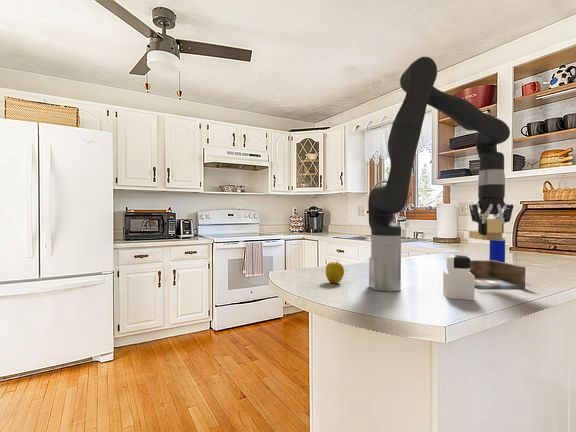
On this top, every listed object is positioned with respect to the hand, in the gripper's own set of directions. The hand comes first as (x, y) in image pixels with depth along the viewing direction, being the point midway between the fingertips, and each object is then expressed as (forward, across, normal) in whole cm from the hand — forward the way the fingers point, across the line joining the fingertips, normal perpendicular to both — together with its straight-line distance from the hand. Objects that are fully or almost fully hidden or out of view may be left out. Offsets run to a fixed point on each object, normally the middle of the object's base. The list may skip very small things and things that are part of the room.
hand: (490, 234), depth 107 cm
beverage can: (+17, -15, -19) cm, 30 cm away
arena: (+17, -2, -4) cm, 18 cm away
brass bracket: (+2, 0, -3) cm, 3 cm away
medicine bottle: (+18, +18, +13) cm, 29 cm away
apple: (+18, +52, -4) cm, 55 cm away
